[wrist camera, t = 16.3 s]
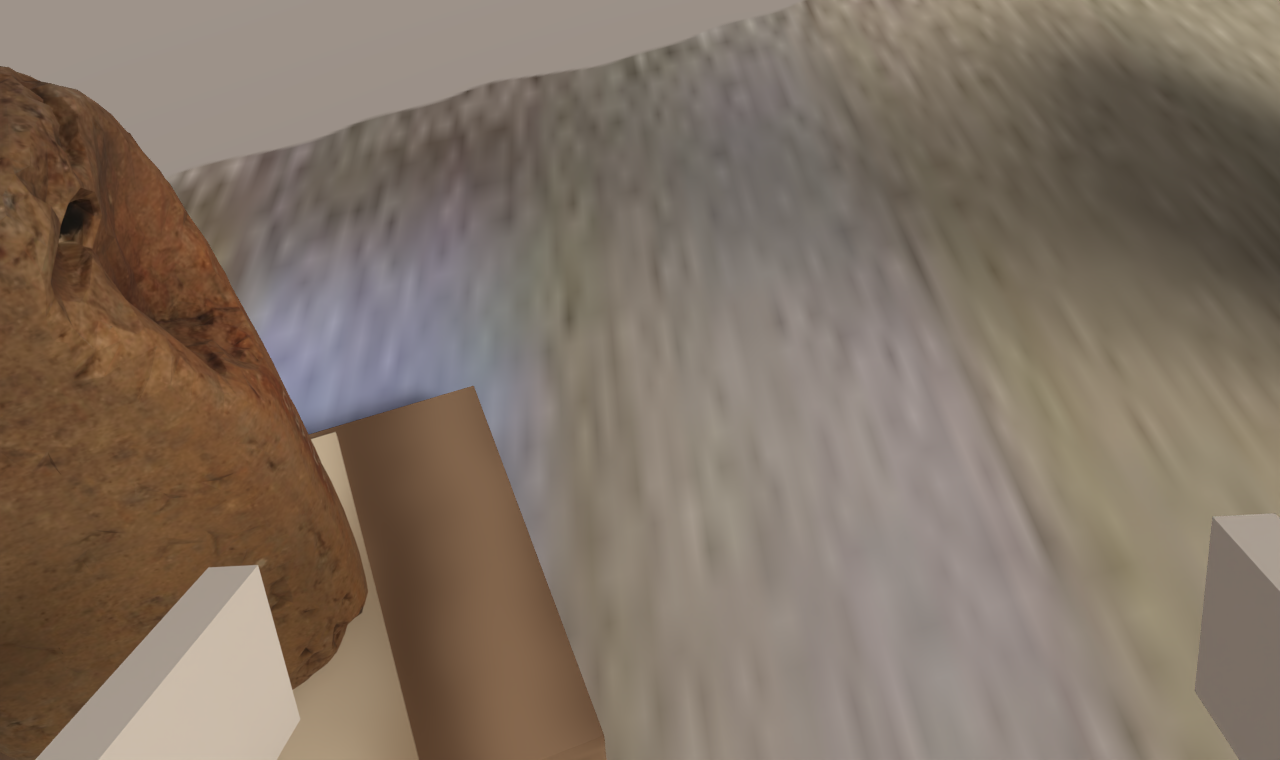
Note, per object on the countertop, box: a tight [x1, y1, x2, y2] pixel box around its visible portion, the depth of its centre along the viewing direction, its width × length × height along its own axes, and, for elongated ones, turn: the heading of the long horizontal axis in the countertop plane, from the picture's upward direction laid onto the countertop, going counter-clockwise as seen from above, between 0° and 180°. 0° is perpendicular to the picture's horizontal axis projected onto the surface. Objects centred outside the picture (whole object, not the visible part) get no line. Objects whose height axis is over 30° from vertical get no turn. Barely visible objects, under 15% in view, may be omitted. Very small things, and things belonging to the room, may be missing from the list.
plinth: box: [0, 386, 606, 760], centre depth 35 cm, size 22×15×3 cm
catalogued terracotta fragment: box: [0, 66, 368, 760], centre depth 26 cm, size 11×8×20 cm
